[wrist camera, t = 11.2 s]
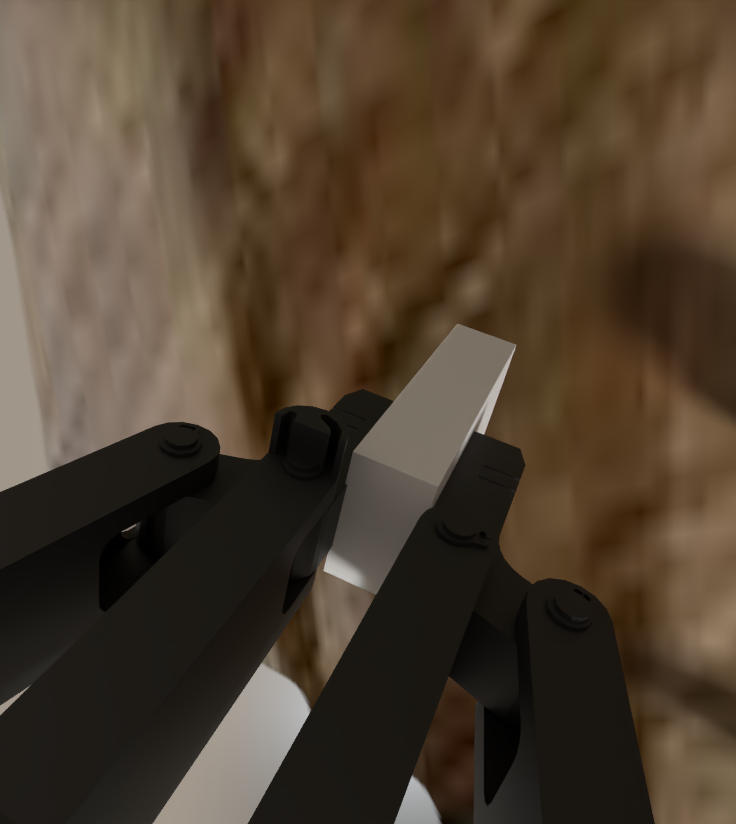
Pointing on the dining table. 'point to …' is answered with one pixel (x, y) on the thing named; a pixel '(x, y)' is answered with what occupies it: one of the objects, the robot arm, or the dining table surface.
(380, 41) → the dining table surface
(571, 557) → the dining table surface
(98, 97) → the dining table surface
